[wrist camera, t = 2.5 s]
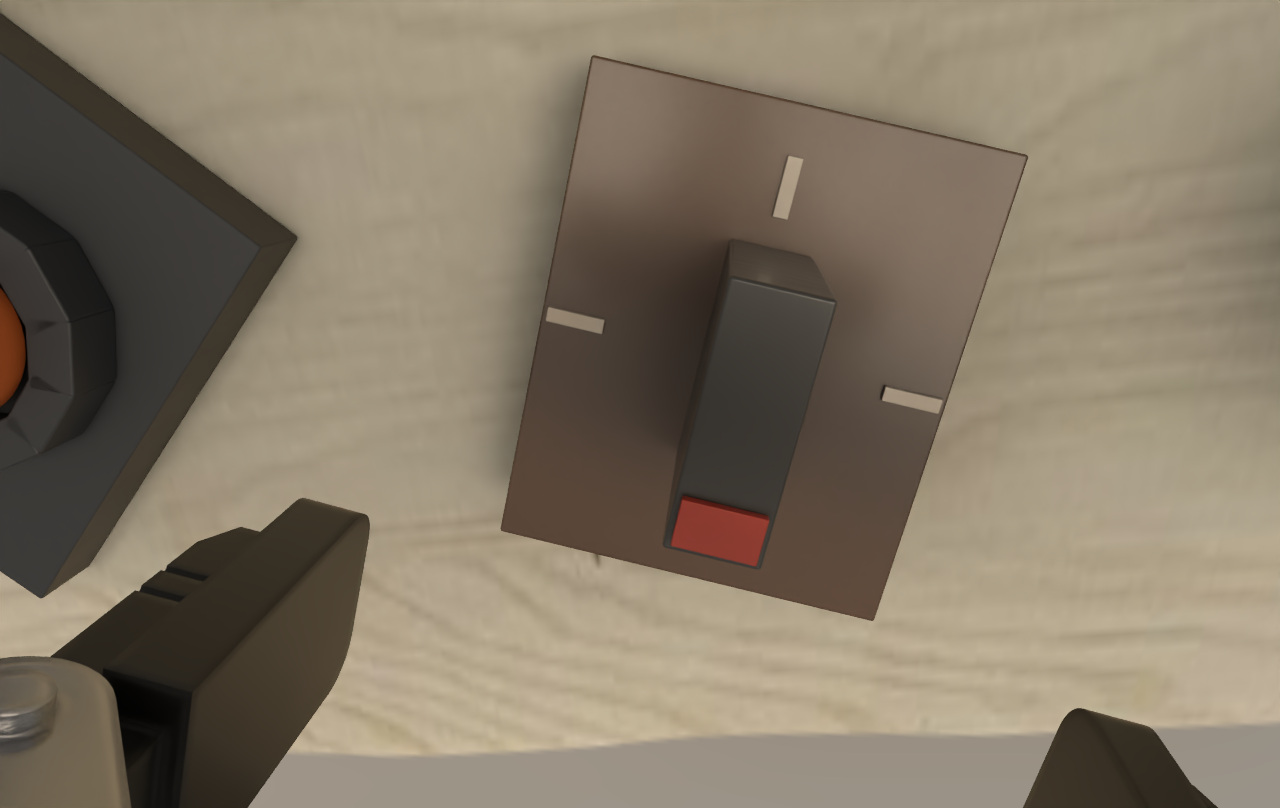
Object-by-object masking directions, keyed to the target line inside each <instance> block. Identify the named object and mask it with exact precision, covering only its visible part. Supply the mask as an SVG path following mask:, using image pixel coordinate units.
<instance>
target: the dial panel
mask: <svg viewBox="0 0 1280 808" xmlns="http://www.w3.org/2000/svg"><path fill="white" fill-rule="evenodd" d="M1027 159H1028V156H1027V155H1025V154H1021V153H1016V152H1012V151H1008V150H1003V149H999V148H995V147H990V146H986V145H982V144H977V143H973V142H969V141H964V140H960V139H956V138H951V137H947V136H942V135H938V134H934V133H929V132H925V131H921V130H916V129H912V128H908V127H903V126H899V125H895V124H890V123H886V122H882V121H877V120H873V119H869V118H864V117H860V116H856V115H851V114H847V113H842V112H838V111H834V110H829V109H825V108H821V107H816V106H812V105H808V104H803V103H799V102H795V101H790V100H786V99H782V98H777V97H773V96H769V95H764V94H760V93H756V92H751V91H747V90H742V89H738V88H734V87H729V86H725V85H721V84H716V83H712V82H708V81H703V80H699V79H695V78H690V77H686V76H682V75H677V74H673V73H669V72H664V71H660V70H655V69H651V68H647V67H642V66H638V65H634V64H629V63H625V62H621V61H616V60H612V59H608V58H603V57H599V56H595V55H594V56H592V57H591V61H590V66H589V72H588V77H587V82H586V87H585V92H584V98H583V103H582V108H581V113H580V118H579V124H578V129H577V134H576V139H575V144H574V150H573V155H572V160H571V165H570V170H569V176H568V181H567V186H566V191H565V196H564V202H563V207H562V212H561V217H560V223H559V228H558V233H557V238H556V243H555V249H554V254H553V259H552V264H551V269H550V275H549V280H548V285H547V290H546V295H545V301H544V306H543V311H542V316H541V321H540V327H539V332H538V337H537V342H536V347H535V353H534V358H533V363H532V368H531V373H530V379H529V384H528V389H527V394H526V399H525V405H524V410H523V415H522V420H521V425H520V431H519V436H518V441H517V446H516V451H515V457H514V462H513V467H512V472H511V477H510V483H509V488H508V493H507V498H506V503H505V509H504V514H503V519H502V524H501V531H504V532H508V533H512V534H517V535H521V536H525V537H529V538H533V539H537V540H541V541H545V542H550V543H554V544H558V545H562V546H566V547H570V548H574V549H578V550H582V551H587V552H591V553H595V554H599V555H603V556H607V557H611V558H615V559H620V560H624V561H628V562H632V563H636V564H640V565H644V566H648V567H652V568H657V569H661V570H665V571H669V572H673V573H677V574H681V575H685V576H690V577H694V578H698V579H702V580H706V581H710V582H714V583H718V584H722V585H727V586H731V587H735V588H739V589H743V590H747V591H751V592H755V593H760V594H764V595H768V596H772V597H776V598H780V599H784V600H788V601H792V602H797V603H801V604H805V605H809V606H813V607H817V608H821V609H825V610H829V611H834V612H838V613H842V614H846V615H850V616H854V617H858V618H862V619H867V620H871V621H873V620H874V618H875V615H876V612H877V609H878V606H879V603H880V600H881V597H882V594H883V591H884V588H885V585H886V582H887V579H888V576H889V573H890V570H891V567H892V564H893V561H894V558H895V555H896V552H897V549H898V546H899V543H900V540H901V537H902V534H903V531H904V528H905V525H906V522H907V519H908V516H909V513H910V510H911V507H912V504H913V501H914V498H915V495H916V492H917V489H918V486H919V483H920V480H921V477H922V474H923V471H924V468H925V465H926V462H927V459H928V456H929V453H930V450H931V447H932V444H933V441H934V438H935V435H936V432H937V429H938V426H939V423H940V420H941V417H942V414H943V411H944V408H945V405H946V402H947V399H948V396H949V393H950V390H951V387H952V384H953V381H954V378H955V375H956V372H957V369H958V366H959V363H960V360H961V357H962V354H963V351H964V348H965V345H966V342H967V339H968V336H969V333H970V330H971V327H972V324H973V321H974V318H975V315H976V312H977V309H978V306H979V303H980V300H981V297H982V294H983V291H984V288H985V285H986V282H987V279H988V276H989V273H990V270H991V267H992V264H993V261H994V258H995V255H996V252H997V249H998V246H999V243H1000V240H1001V237H1002V234H1003V231H1004V228H1005V225H1006V222H1007V219H1008V216H1009V213H1010V210H1011V207H1012V204H1013V201H1014V198H1015V195H1016V192H1017V189H1018V186H1019V183H1020V180H1021V177H1022V174H1023V171H1024V168H1025V165H1026V162H1027ZM732 239H735V240H739V241H743V242H748V243H752V244H756V245H761V246H765V247H769V248H773V249H778V250H782V251H786V252H790V253H795V254H799V255H803V256H808V257H811V258H812V259H813V260H814V261H815V263H816V265H817V267H818V268H819V270H820V272H821V274H822V275H823V277H824V279H825V281H826V282H827V284H828V286H829V288H830V289H831V291H832V293H833V295H834V296H835V298H836V300H837V308H836V311H835V315H834V318H833V322H832V325H831V329H830V332H829V336H828V339H827V343H826V346H825V350H824V353H823V356H822V360H821V363H820V367H819V370H818V374H817V377H816V381H815V384H814V388H813V391H812V395H811V398H810V402H809V405H808V409H807V412H806V416H805V419H804V423H803V426H802V430H801V433H800V437H799V440H798V443H797V447H796V450H795V454H794V457H793V461H792V464H791V468H790V471H789V475H788V478H787V482H786V485H785V489H784V492H783V496H782V499H781V503H780V506H779V510H778V513H777V517H776V520H775V524H774V527H773V531H772V534H771V537H770V541H769V544H768V548H767V551H766V555H765V558H764V562H763V565H762V568H761V569H760V570H756V569H752V568H747V567H743V566H739V565H735V564H731V563H727V562H723V561H719V560H714V559H710V558H706V557H702V556H698V555H694V554H690V553H686V552H681V551H677V550H673V549H669V548H665V547H664V546H663V543H662V542H663V536H664V530H665V524H666V518H667V511H668V505H669V499H670V493H671V487H672V481H673V475H674V469H675V463H676V457H677V451H678V447H679V443H680V439H681V435H682V431H683V427H684V423H685V419H686V415H687V411H688V407H689V403H690V398H691V394H692V390H693V386H694V382H695V378H696V374H697V370H698V366H699V362H700V358H701V354H702V350H703V346H704V342H705V338H706V334H707V330H708V326H709V322H710V318H711V314H712V309H713V305H714V301H715V297H716V293H717V289H718V285H719V281H720V277H721V273H722V269H723V265H724V261H725V257H726V253H727V249H728V245H729V241H730V240H732Z"/></svg>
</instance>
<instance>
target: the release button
mask: <svg viewBox="0 0 1280 808" xmlns="http://www.w3.org/2000/svg"><path fill="white" fill-rule="evenodd" d="M25 362H26V345H25V337H24V333H23V329H22V325H21V323H20V320H19V317H18V315H17V313H16V311H15V309H14V307H13V305H12V303H11V302H10V300H9V299H8V297H7V296H6V294H5V293H4V291H3V290H2V289H1V288H0V407H1V406H2V405H3V404H5V403H6V402H7V401H8V400H9V399H10V398H11V396H12V395H13V394H14V392H15V391H16V389H17V388H18V385H19V383H20V381H21V379H22V376H23V372H24V369H25Z"/></svg>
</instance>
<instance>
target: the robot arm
mask: <svg viewBox="0 0 1280 808" xmlns="http://www.w3.org/2000/svg"><path fill="white" fill-rule="evenodd" d="M369 530H370V523H369V518H368V516H367V515H366V514H362V513H358V512H354V511H351V510H347V509H343V508H340V507H336V506H332V505H328V504H325V503H321V502H317V501H313V500H310V499H306V498H301V499H299V500H297V501H296V502H295V503H293V504H292V505H291V506H290V507H289V508H288V509H286V510H285V511H284V512H283V513H282V514H281V515H280V516H278V517H277V518H276V519H275V520H274V521H273V522H271V523H270V524H269V525H268V526H267V527H266V528H265V529H263V530H262V531H261V532H258V531H254V530H251V529H247V528H243V527H239V528H236V529H233V530H230V531H228V532H225V533H222V534H219V535H216V536H213V537H210V538H207V539H204V540H201V541H198V542H196V543H195V544H194V545H193V546H191V547H190V548H189V549H188V550H186V551H185V552H184V553H182V554H181V555H180V556H179V557H177V558H176V559H175V560H173V561H172V562H171V563H170V564H168V565H167V568H166V570H165V571H162V570H161V571H159V572H158V573H157V574H156V575H154V576H153V577H152V578H150V579H149V580H148V581H147V582H145V583H144V584H143V585H142V586H141V589H140V591H134V592H133V593H131V594H130V595H129V596H127V597H126V598H125V599H124V600H122V601H121V602H120V603H118V604H117V605H116V606H115V607H113V608H112V609H111V610H110V611H108V612H107V613H106V614H104V615H103V616H102V617H101V618H99V619H98V620H97V621H95V622H94V623H93V624H92V625H90V626H89V627H88V628H87V629H85V630H84V631H83V632H81V633H80V634H79V635H78V636H76V637H75V638H74V639H72V640H71V641H70V642H69V643H67V644H66V645H65V646H63V647H62V648H61V649H60V650H58V651H57V652H56V653H55V654H53V655H52V656H51V657H37V656H24V657H9V658H2V659H0V808H248V806H249V805H250V803H251V802H252V801H253V799H254V798H255V796H256V795H257V794H258V792H259V791H260V789H261V788H262V786H263V785H264V784H265V782H266V781H267V779H268V778H269V777H270V775H271V774H272V773H273V771H274V770H275V768H276V767H277V766H278V764H279V763H280V761H281V760H282V758H283V757H284V756H285V754H286V753H287V751H288V750H289V749H290V747H291V746H292V744H293V743H294V742H295V740H296V739H297V737H298V736H299V735H300V733H301V732H302V730H303V729H304V728H305V726H306V725H307V723H308V722H309V720H310V719H311V718H312V716H313V715H314V713H315V712H316V711H317V709H318V708H319V706H320V705H321V704H322V702H323V701H324V699H325V698H326V697H327V695H328V694H329V692H330V691H331V689H332V687H333V686H334V684H335V682H336V680H337V678H338V676H339V673H340V671H341V669H342V666H343V663H344V661H345V658H346V655H347V652H348V648H349V645H350V641H351V636H352V631H353V625H354V619H355V614H356V608H357V602H358V596H359V591H360V585H361V579H362V573H363V568H364V562H365V556H366V551H367V545H368V539H369ZM1023 808H1218V807H1217V806H1216V805H1214V804H1213V803H1212V802H1211V801H1210V800H1209V799H1208V798H1207V797H1206V796H1204V795H1203V794H1202V793H1201V792H1200V791H1199V790H1198V789H1197V788H1196V787H1195V786H1193V785H1191V783H1190V782H1189V780H1188V779H1187V777H1186V776H1185V774H1184V773H1183V772H1182V770H1181V769H1180V767H1179V766H1178V764H1177V763H1176V761H1175V760H1174V758H1173V757H1172V756H1171V754H1170V753H1169V751H1168V750H1167V748H1166V747H1165V745H1164V744H1163V742H1162V741H1161V739H1160V738H1159V737H1158V735H1157V734H1156V733H1155V731H1154V730H1153V729H1151V728H1150V727H1148V726H1145V725H1141V724H1138V723H1134V722H1130V721H1127V720H1123V719H1119V718H1115V717H1112V716H1108V715H1104V714H1101V713H1097V712H1093V711H1089V710H1086V709H1082V708H1077V709H1074V710H1072V711H1071V712H1069V713H1068V714H1067V715H1066V717H1065V718H1064V719H1063V721H1062V723H1061V724H1060V726H1059V728H1058V731H1057V733H1056V735H1055V737H1054V740H1053V742H1052V744H1051V746H1050V749H1049V751H1048V753H1047V755H1046V758H1045V760H1044V762H1043V764H1042V767H1041V769H1040V771H1039V773H1038V776H1037V778H1036V780H1035V782H1034V785H1033V787H1032V789H1031V791H1030V793H1029V796H1028V798H1027V800H1026V802H1025V805H1024V807H1023Z"/></svg>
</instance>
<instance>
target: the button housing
mask: <svg viewBox="0 0 1280 808" xmlns="http://www.w3.org/2000/svg"><path fill="white" fill-rule="evenodd" d="M296 240H297V236H295V235H294V234H293V233H291V232H290V231H289V230H287V229H286V228H285V227H283V226H282V225H281V224H279V223H278V222H277V221H275V220H274V219H273V218H271V217H270V216H269V215H267V214H266V213H265V212H263V211H262V210H261V209H259V208H258V207H257V206H255V205H254V204H253V203H251V202H250V201H249V200H247V199H246V198H245V197H243V196H242V195H241V194H239V193H238V192H237V191H235V190H234V189H233V188H231V187H230V186H229V185H227V184H226V183H225V182H223V181H222V180H221V179H219V178H218V177H217V176H215V175H214V174H213V173H211V172H210V171H209V170H207V169H206V168H205V167H203V166H202V165H201V164H199V163H198V162H197V161H195V160H194V159H193V158H191V157H190V156H189V155H187V154H186V153H185V152H183V151H182V150H181V149H179V148H178V147H177V146H175V145H174V144H173V143H172V142H170V141H169V140H168V139H166V138H165V137H164V136H162V135H161V134H160V133H158V132H157V131H156V130H154V129H153V128H152V127H150V126H149V125H148V124H146V123H145V122H144V121H142V120H141V119H140V118H138V117H137V116H136V115H134V114H133V113H132V112H130V111H129V110H128V109H126V108H125V107H124V106H122V105H121V104H120V103H118V102H117V101H116V100H114V99H113V98H112V97H110V96H109V95H108V94H106V93H105V92H104V91H102V90H101V89H100V88H98V87H97V86H96V85H94V84H93V83H92V82H90V81H89V80H88V79H86V78H85V77H84V76H82V75H81V74H80V73H78V72H77V71H76V70H74V69H73V68H72V67H70V66H69V65H68V64H66V63H65V62H64V61H62V60H61V59H60V58H58V57H57V56H56V55H54V54H53V53H52V52H50V51H49V50H48V49H46V48H45V47H44V46H42V45H41V44H40V43H38V42H37V41H36V40H34V39H33V38H32V37H30V36H29V35H28V34H26V33H25V32H24V31H22V30H21V29H20V28H18V27H17V26H16V25H14V24H13V23H12V22H10V21H9V20H8V19H6V18H5V17H4V16H2V15H1V14H0V288H1V289H2V290H3V291H4V293H5V294H6V296H7V297H8V299H9V300H10V302H11V303H12V305H13V307H14V309H15V311H16V313H17V315H18V317H19V320H20V323H21V325H22V329H23V333H24V337H25V345H26V362H25V369H24V372H23V376H22V379H21V381H20V383H19V385H18V388H17V389H16V391H15V392H14V394H13V395H12V396H11V398H10V399H9V400H8V401H7V402H6V403H5V404H3V405H2V406H1V407H0V571H1V572H2V573H4V574H5V575H7V576H8V577H10V578H11V579H13V580H14V581H15V582H17V583H18V584H20V585H21V586H23V587H24V588H26V589H27V590H29V591H30V592H32V593H33V594H35V595H36V596H37V597H39V598H43V597H45V596H46V595H48V594H49V593H51V592H52V591H54V590H55V589H56V588H58V587H59V586H61V585H62V584H64V583H65V582H66V581H68V580H69V579H71V578H72V577H74V576H75V575H77V574H78V573H79V572H81V571H82V570H84V569H85V568H87V567H88V566H89V565H90V563H91V562H92V560H93V559H94V557H95V555H96V554H97V552H98V551H99V549H100V548H101V546H102V545H103V543H104V541H105V540H106V538H107V537H108V535H109V534H110V532H111V530H112V529H113V527H114V526H115V524H116V523H117V521H118V519H119V518H120V516H121V515H122V513H123V512H124V510H125V508H126V507H127V505H128V504H129V502H130V501H131V499H132V497H133V496H134V494H135V493H136V491H137V490H138V488H139V486H140V485H141V483H142V482H143V480H144V479H145V477H146V475H147V474H148V472H149V471H150V469H151V468H152V466H153V464H154V463H155V461H156V460H157V458H158V457H159V455H160V453H161V452H162V450H163V449H164V447H165V446H166V444H167V442H168V441H169V439H170V438H171V436H172V435H173V433H174V431H175V430H176V428H177V427H178V425H179V424H180V422H181V420H182V419H183V417H184V416H185V414H186V413H187V411H188V409H189V408H190V406H191V405H192V403H193V402H194V400H195V398H196V397H197V395H198V394H199V392H200V391H201V389H202V387H203V386H204V384H205V383H206V381H207V380H208V378H209V377H210V375H211V373H212V372H213V370H214V369H215V367H216V366H217V364H218V362H219V361H220V359H221V358H222V356H223V355H224V353H225V351H226V350H227V348H228V347H229V345H230V344H231V342H232V340H233V339H234V337H235V336H236V334H237V333H238V331H239V329H240V328H241V326H242V325H243V323H244V322H245V320H246V318H247V317H248V315H249V314H250V312H251V311H252V309H253V307H254V306H255V304H256V303H257V301H258V300H259V298H260V296H261V295H262V293H263V292H264V290H265V289H266V287H267V285H268V284H269V282H270V281H271V279H272V278H273V276H274V274H275V273H276V271H277V270H278V268H279V267H280V265H281V263H282V262H283V260H284V259H285V257H286V256H287V254H288V252H289V251H290V249H291V248H292V246H293V245H294V243H295V241H296Z"/></svg>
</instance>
